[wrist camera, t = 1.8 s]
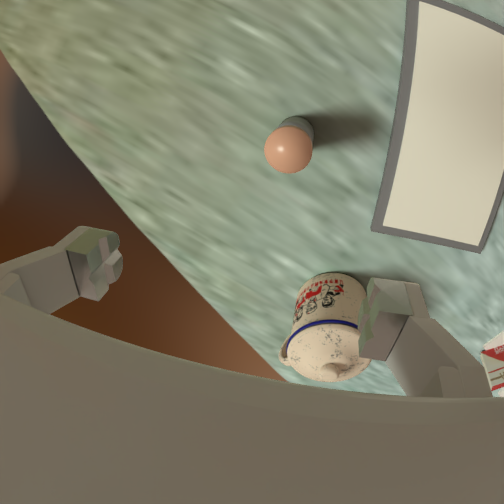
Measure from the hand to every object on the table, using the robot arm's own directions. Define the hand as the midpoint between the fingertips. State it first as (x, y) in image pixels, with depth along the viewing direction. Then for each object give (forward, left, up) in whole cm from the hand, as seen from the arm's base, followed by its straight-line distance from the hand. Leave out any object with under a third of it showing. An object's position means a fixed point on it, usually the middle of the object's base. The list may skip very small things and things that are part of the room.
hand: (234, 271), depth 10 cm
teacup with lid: (+20, +6, -23) cm, 31 cm away
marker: (0, 0, -23) cm, 23 cm away
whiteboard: (-4, +16, -23) cm, 28 cm away
